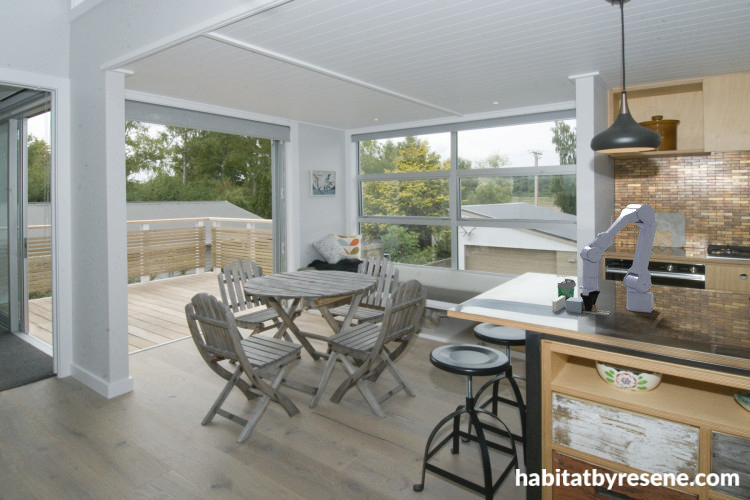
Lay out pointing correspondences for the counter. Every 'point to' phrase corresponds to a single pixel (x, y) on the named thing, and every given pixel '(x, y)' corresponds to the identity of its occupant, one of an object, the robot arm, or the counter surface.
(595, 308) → the dowel
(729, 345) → the counter surface
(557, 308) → the wall
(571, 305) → the block
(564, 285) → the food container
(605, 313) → the cradle
